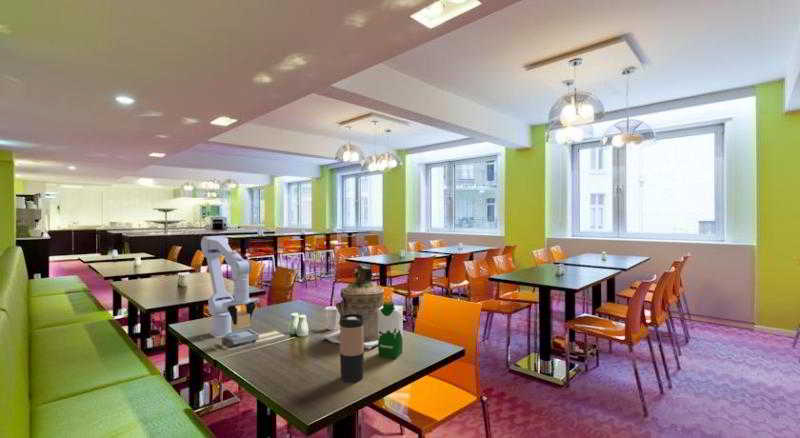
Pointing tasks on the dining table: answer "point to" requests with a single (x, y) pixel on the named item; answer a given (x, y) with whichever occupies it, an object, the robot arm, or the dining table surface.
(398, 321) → the milk carton
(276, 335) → the track
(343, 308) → the cookie jar
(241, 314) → the ochre block
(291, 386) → the dining table surface
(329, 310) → the smoothie
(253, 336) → the blue square tray
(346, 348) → the travel mug
